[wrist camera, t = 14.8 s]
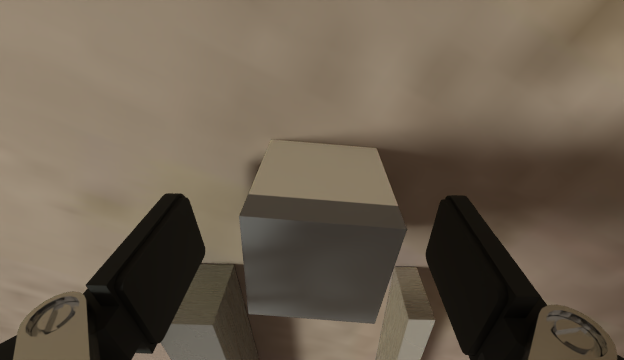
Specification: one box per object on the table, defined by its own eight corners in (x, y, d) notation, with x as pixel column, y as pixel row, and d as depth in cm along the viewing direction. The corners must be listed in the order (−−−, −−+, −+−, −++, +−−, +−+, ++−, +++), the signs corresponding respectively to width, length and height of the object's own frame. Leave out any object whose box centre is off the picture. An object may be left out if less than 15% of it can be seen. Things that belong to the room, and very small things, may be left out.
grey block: (358, 226, 14) (374, 323, 9) (272, 219, 14) (248, 314, 9) (376, 147, 11) (407, 229, 7) (271, 139, 11) (239, 216, 7)
